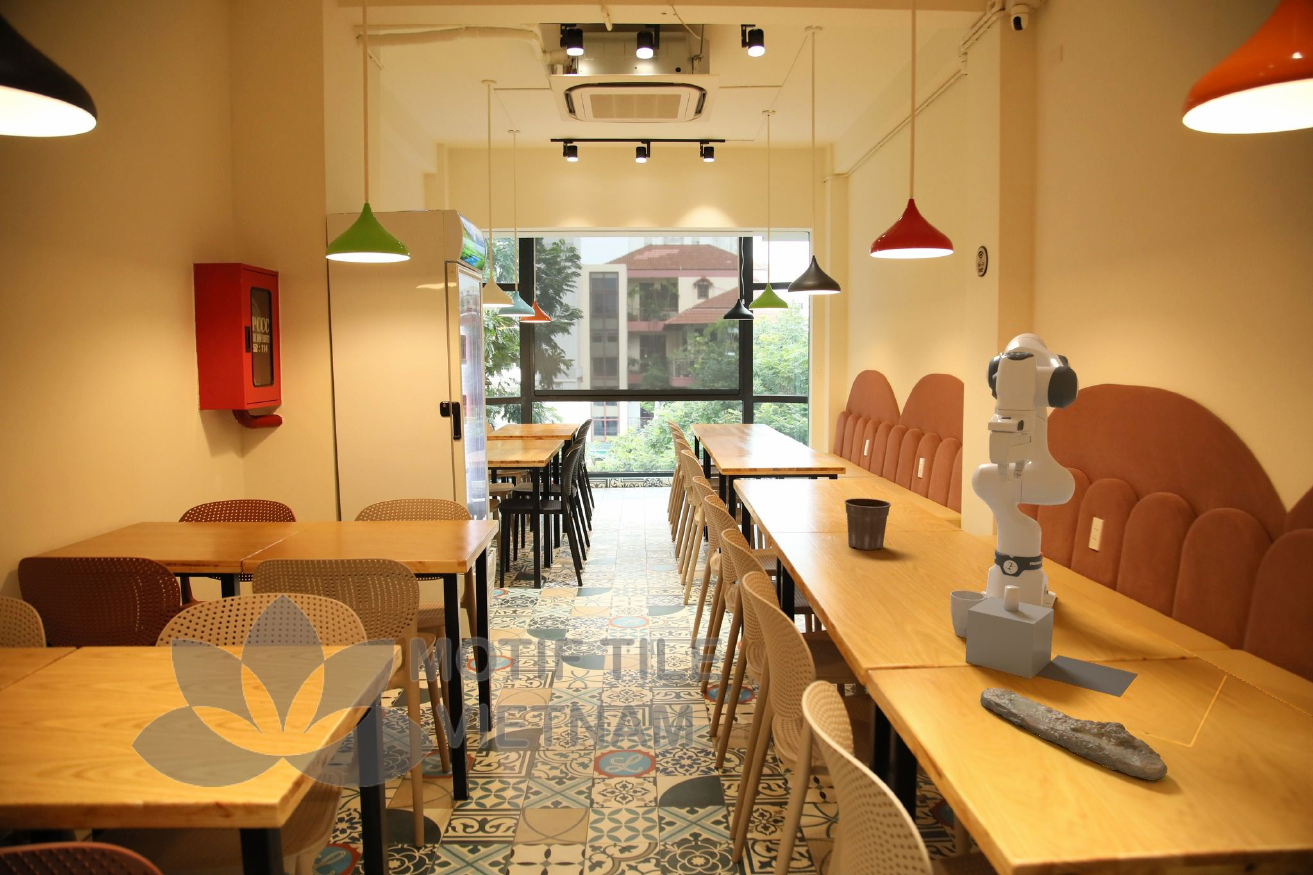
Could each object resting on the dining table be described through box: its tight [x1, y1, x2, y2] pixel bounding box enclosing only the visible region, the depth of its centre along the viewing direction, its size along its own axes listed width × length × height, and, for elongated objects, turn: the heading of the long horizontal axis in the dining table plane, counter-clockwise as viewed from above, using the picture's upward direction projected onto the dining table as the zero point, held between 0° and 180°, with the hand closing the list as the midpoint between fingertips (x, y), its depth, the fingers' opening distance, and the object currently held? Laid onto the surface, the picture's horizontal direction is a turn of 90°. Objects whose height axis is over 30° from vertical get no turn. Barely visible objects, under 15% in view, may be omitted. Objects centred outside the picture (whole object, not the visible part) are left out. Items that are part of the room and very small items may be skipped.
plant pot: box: [844, 497, 892, 551], centre depth 288 cm, size 16×16×16 cm
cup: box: [949, 589, 987, 639], centre depth 197 cm, size 8×8×10 cm
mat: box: [1035, 654, 1139, 698], centre depth 172 cm, size 16×16×1 cm
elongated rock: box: [980, 687, 1168, 781], centre depth 144 cm, size 35×5×10 cm
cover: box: [965, 586, 1055, 680], centre depth 178 cm, size 14×14×17 cm
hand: (1011, 480), depth 190 cm, fingers open, 8 cm apart
